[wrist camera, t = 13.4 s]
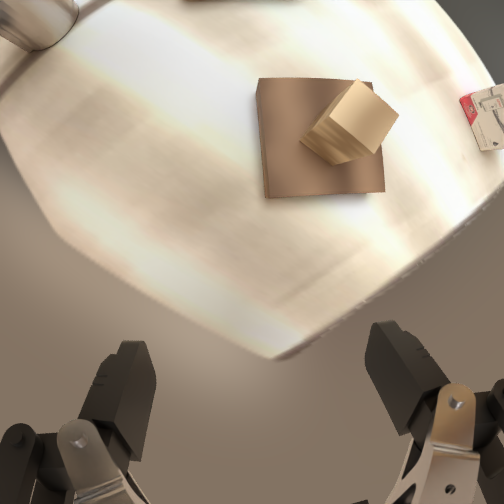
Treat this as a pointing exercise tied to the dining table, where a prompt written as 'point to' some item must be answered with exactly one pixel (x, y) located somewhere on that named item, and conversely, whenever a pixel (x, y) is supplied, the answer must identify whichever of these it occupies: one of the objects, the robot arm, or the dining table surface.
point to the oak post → (350, 125)
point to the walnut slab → (297, 153)
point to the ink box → (486, 116)
